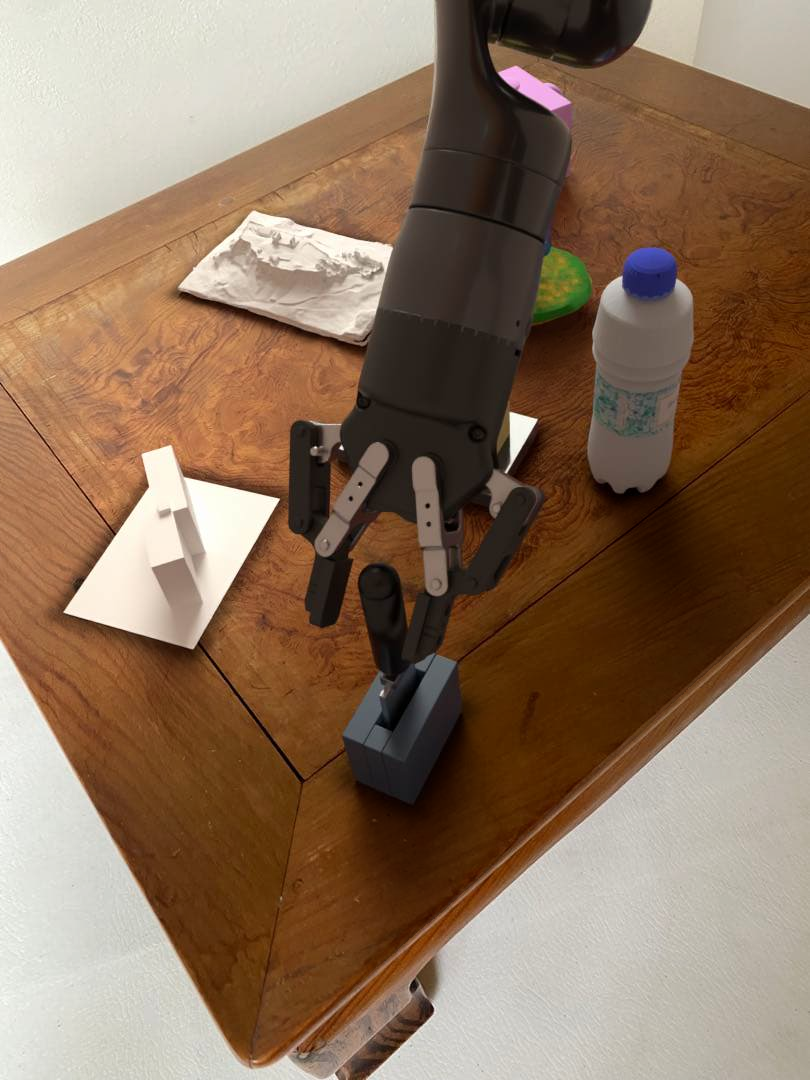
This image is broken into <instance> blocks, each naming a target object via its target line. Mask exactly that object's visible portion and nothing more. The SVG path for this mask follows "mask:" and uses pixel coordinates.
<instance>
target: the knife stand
mask: <svg viewBox="0 0 810 1080" xmlns="http://www.w3.org/2000/svg"><path fill="white" fill-rule="evenodd" d="M415 668H416V674H417V680H418V688H417V690H416V692H415V694H414V695H413V697H412V699H411V701H410V703H409V704H408V706H407V708H406V710H405V712H404V713H403V715H402V717H401V719H400V721H399V722H398V724H397V726H396V728H395V730H394V731H393V732H392V731H390V730H387V729H386V725H385V721H384V716H383V712H382V707H381V703H380V698H379V695H380V693H381V691H382V689H383V688H384V685H382V684H381V681H380V676H381V674H382V672H381V671H380V670H378V673H377V675H376V676H375V678H374V680H373V681H372V683H371V684H370V686H369V688H368V690H367V691H366V694H364V697H363V698H362V700H361V702H360V704H359V705H358V707H357V708H356V710H355V712H354V713H353V715H352V717H351V718H350V720H349V722H348V724H347V725H346V727H345V729H344V730H343V732H342V734H341V738H342V741H343V742H342V743H343V745H344V749H345V751H346V755H347V758H348V761H349V762H348V763H349V765H350V768H351V771H352V775H353V779H354V781H357V782H359V783H361V784H363V785H366V786H368V787H370V788H372V789H375V790H376V791H379V792H381V793H383V794H386V795H388V796H390V797H393V798H395V799H397V800H400V801H402V802H405V803H407V804H409V805H414V804H415V802H416V800H417V798H418V796H419V794H420V793H421V790H422V788H423V787H424V786H425V783H426V781H427V780H428V777H429V775H430V773H431V771H432V770H433V768H434V766H435V764H436V762H437V760H438V758H439V756H440V754H441V753H442V751H443V748H444V747H445V745H446V742H447V741H448V739H449V737H450V735H451V733H452V731H453V729H454V728H455V725H456V724H457V722H458V719H459V718H460V715H461V713H462V711H463V702H462V694H461V684H460V674H459V672H460V671H459V664H458V662H457V661H456V660H452V659H450V658H447V657H445V656H442V655H439V654H436V652H435V653H433V654H431V655H429V656H427V657H426V658H425V660H423V661H421V662H418V663H416V664H415Z"/></svg>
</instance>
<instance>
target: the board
mask: <svg viewBox="0 0 810 1080" xmlns="http://www.w3.org/2000/svg"><path fill="white" fill-rule="evenodd" d="M538 434H539V419H538V418H534V417H531V416H527V415H524V414H520V413H516V412H513V411H510V434H509V435H508V437H507V439H506V440H505V442H504V444H503V445H502V447H501V449H500V450H499V452H498V459H499V464H500V468H499V469H500V470H501V471H503V472H505V473H506V474H508V475H510V476H511V477H513V478H514V476H515V474H516V472H517V470H518V468H519V467H520V465H521V464H522V462H523V460H524V458H525V457H526V454H527V453H528V451H529V449H530V448H531V445H532V444H533V442H534V441H535V439H536V437H537V435H538ZM336 460H337V461H339V462H341V463H345V464H348V461H347V458H346V455H345V452H344V449H343V446H342V445H341V447H340V448H339V451H338V456H337V458H336ZM490 502H491V492H490V490H489V488H486V489H485V490H484V491H483V492H481V493H480V494H479V495H478V496H477V497H475V498H474V499H473V500H472V501H470V502H469V503H472V504H475V505H479V506H482V507H485V508H488V509H489V504H490Z"/></svg>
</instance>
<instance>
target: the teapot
mask: <svg viewBox="0 0 810 1080" xmlns="http://www.w3.org/2000/svg"><path fill="white" fill-rule="evenodd" d="M498 73H499V75H500V76H501V77H502V78H503V79H504V80H505V81H506V82H507V83H508V84H510V85H511V86H512V87H514V88H515V89H517V90H518V91H520V92H521V93H523V94H524V95H526V96H528V97H530V98H531V99H533V100H535V101H537V102H538V103H540V104H542V105H544V106H545V107H547V108H548V109H549V110H551V111H552V112H554V113H555V114H557V115H558V116H559V117H560V118H562V119H563V121H564V122H565V123H566V124H567V126H568V128H569V129H570V133H571V136H572V134H573V133H572V132H573V110H574V107H573V105H574V104H573V103H572V102H571V101H570V100H569V99H567V98H566V97H564V96H563V93H562V91H561V90H560V88H559V87H558V86H557V85H555V84H553V83H550V82H544V83H543V82H542V81H541V80H539V79H538V78H536V77H535V76H533V75H532V74H530V73H528V72H527V71H525V70H524V69H522V68H521V67H520V66H518V65H514V66H512V67H509V68H506V69H503V70H501V71H498ZM571 159H572V154H571V155H570V161H569V165H568V169H567V173H566V176H565V178H566V177H569V176H571V161H572V160H571Z"/></svg>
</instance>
